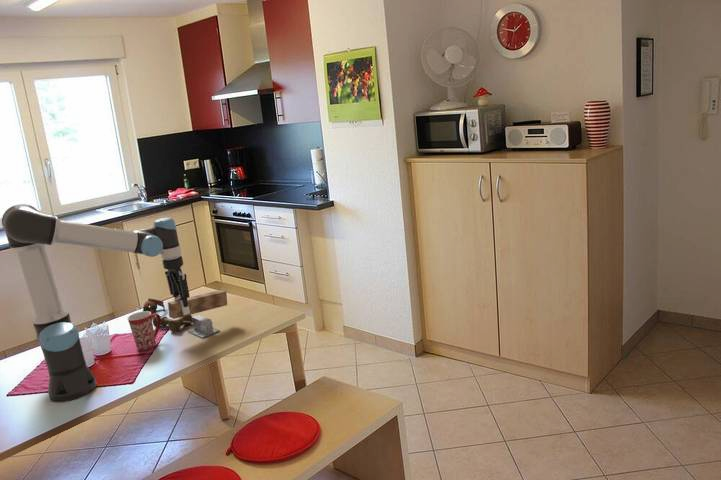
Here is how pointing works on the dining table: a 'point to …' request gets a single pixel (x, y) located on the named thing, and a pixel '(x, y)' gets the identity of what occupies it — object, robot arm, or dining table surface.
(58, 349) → the robot arm
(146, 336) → the mug
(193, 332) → the fulcrum
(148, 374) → the dining table surface
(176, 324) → the kendama
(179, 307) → the walnut bar
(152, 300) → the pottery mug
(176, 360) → the dining table surface
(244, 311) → the dining table surface
